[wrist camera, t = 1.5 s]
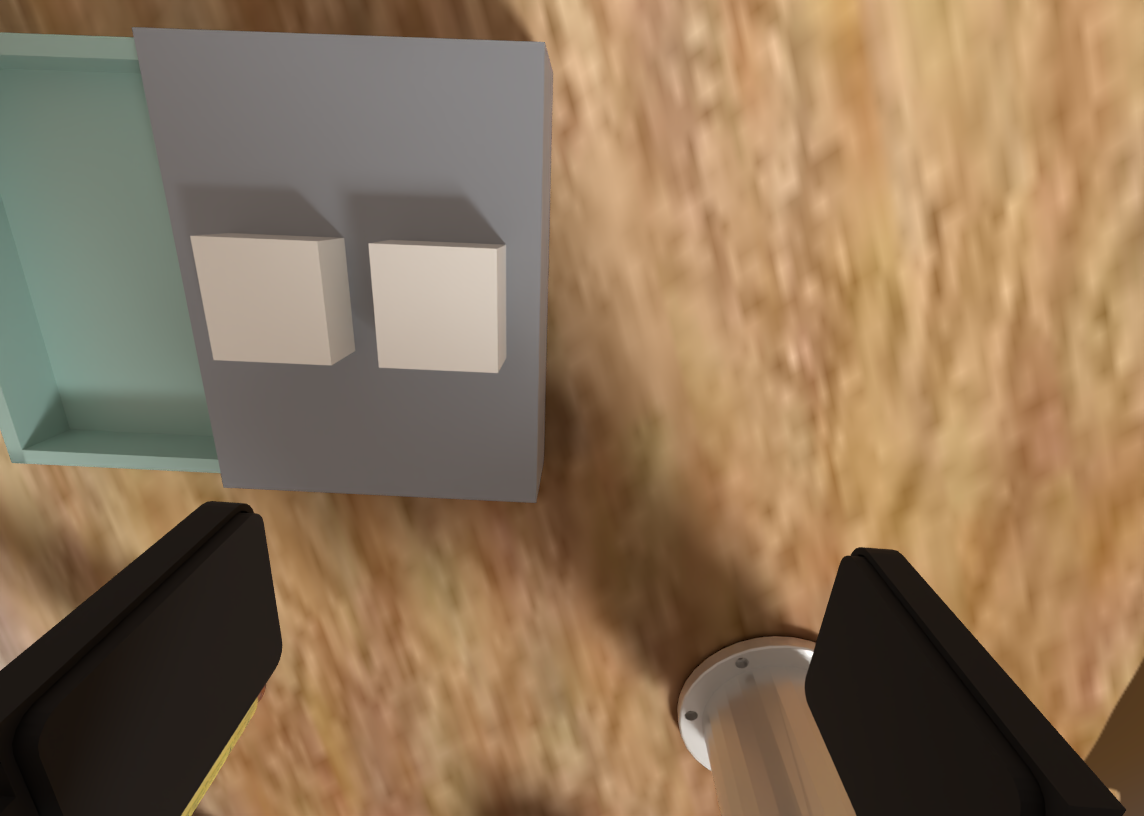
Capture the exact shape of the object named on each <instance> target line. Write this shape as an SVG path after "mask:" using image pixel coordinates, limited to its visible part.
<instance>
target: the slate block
mask: <svg viewBox="0 0 1144 816" xmlns="http://www.w3.org/2000/svg"><path fill="white" fill-rule="evenodd" d="M132 31H133V36H134V41H135V46H136V51H137V56H138V61H139V66H140V71H141V76H142V81H143V86H144V91H145V96H146V101H147V106H148V111H149V116H150V121H151V126H152V131H153V136H154V141H155V146H156V151H157V156H158V161H159V166H160V171H161V176H162V181H163V186H164V191H165V196H166V201H167V206H168V211H169V216H170V221H171V226H172V231H173V236H174V242H175V247H176V252H177V257H178V262H179V267H180V272H181V277H182V282H183V287H184V292H185V297H186V302H187V307H188V312H189V317H190V322H191V327H192V332H193V337H194V342H195V347H196V352H197V357H198V362H199V367H200V372H201V377H202V382H203V387H204V392H205V397H206V402H207V407H208V412H209V417H210V422H211V427H212V432H213V437H214V442H215V447H216V452H217V457H218V462H219V467H220V472H221V477H222V482H223V487H225V488H245V489H265V490H285V491H306V492H326V493H346V494H366V495H387V496H407V497H427V498H447V499H468V500H488V501H508V502H528V503H536V502H537V496H538V491H539V485H540V480H541V474H542V469H543V463H544V440H545V397H546V354H547V311H548V268H549V225H550V182H551V139H552V96H553V70H552V67H551V63H550V59H549V56H548V52H547V48H546V45H545V42H527V41H499V40H472V39H444V38H417V37H389V36H362V35H334V34H307V33H279V32H251V31H224V30H196V29H169V28H141V27H132ZM223 233H240V234H264V235H288V236H312V237H335V238H344V241H345V251H346V261H347V272H348V282H349V292H350V302H351V312H352V322H353V333H354V343H355V351H354V352H353V353H351V354H349V355H348V356H346V357H345V358H343V359H341V360H340V361H338V362H336V363H335V364H333V365H311V364H289V363H267V362H245V361H223V360H214V359H213V354H212V349H211V344H210V338H209V333H208V328H207V322H206V317H205V312H204V307H203V301H202V296H201V291H200V286H199V280H198V275H197V270H196V264H195V259H194V254H193V249H192V243H191V238H190V236H195V235H209V234H223ZM386 240H407V241H430V242H454V243H478V244H502V245H506V359H505V361H504V363H503V365H502V367H501V368H500V370H499V372H498V373H485V372H464V371H442V370H420V369H398V368H379V363H378V351H377V340H376V328H375V316H374V304H373V292H372V280H371V268H370V257H369V245H368V243H374V242H380V241H386Z"/></svg>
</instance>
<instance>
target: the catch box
mask: <svg viewBox="0 0 1144 816" xmlns="http://www.w3.org/2000/svg"><path fill="white" fill-rule="evenodd" d="M0 430H1V433H2V436H3V438H4V441H5V444H6V447H7V450H8V453H9V456H10V459H11V462H12V463H25V464H45V465H65V466H86V467H106V468H127V469H147V470H167V471H188V472H208V473H221V472H220V467H219V462H218V457H217V452H216V447H215V442H214V437H213V432H212V427H211V422H210V417H209V412H208V407H207V402H206V397H205V392H204V387H203V382H202V377H201V372H200V367H199V362H198V357H197V352H196V347H195V342H194V337H193V332H192V327H191V322H190V317H189V312H188V307H187V302H186V297H185V292H184V287H183V282H182V277H181V272H180V267H179V262H178V257H177V252H176V247H175V242H174V236H173V231H172V226H171V221H170V216H169V211H168V206H167V201H166V196H165V191H164V186H163V181H162V176H161V171H160V166H159V161H158V156H157V151H156V146H155V141H154V136H153V131H152V126H151V121H150V116H149V111H148V106H147V101H146V96H145V91H144V86H143V81H142V76H141V71H140V66H139V61H138V56H137V51H136V46H135V41H134V37H110V36H83V35H55V34H28V33H0Z"/></svg>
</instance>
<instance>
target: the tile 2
mask: <svg viewBox="0 0 1144 816" xmlns="http://www.w3.org/2000/svg"><path fill="white" fill-rule="evenodd" d="M368 245H369V257H370V268H371V280H372V292H373V304H374V316H375V328H376V340H377V351H378V363H379V368H398V369H420V370H442V371H464V372H485V373H498V372H499V370H500V368H501V367H502V365H503V363H504V361H505V359H506V245H502V244H478V243H454V242H430V241H407V240H386V241H380V242H374V243H368Z"/></svg>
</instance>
